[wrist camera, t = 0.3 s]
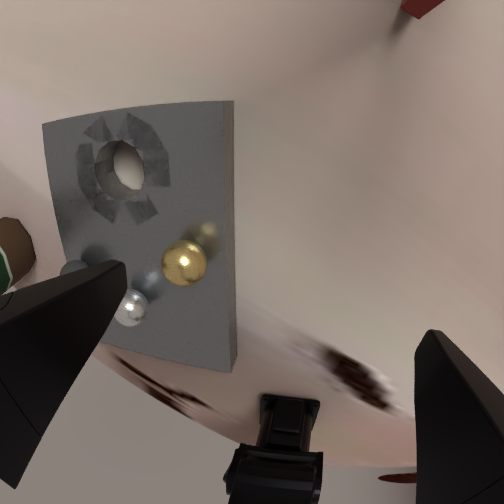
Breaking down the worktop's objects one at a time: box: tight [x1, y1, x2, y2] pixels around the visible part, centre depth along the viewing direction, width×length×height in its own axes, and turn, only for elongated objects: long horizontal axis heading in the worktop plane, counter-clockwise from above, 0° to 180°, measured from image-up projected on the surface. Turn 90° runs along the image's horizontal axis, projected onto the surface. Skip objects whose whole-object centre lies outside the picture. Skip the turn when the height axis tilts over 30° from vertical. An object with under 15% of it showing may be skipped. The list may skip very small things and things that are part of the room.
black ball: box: [60, 260, 89, 276], centre depth 24 cm, size 3×3×3 cm
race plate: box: [42, 101, 237, 373], centre depth 25 cm, size 23×16×2 cm
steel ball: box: [114, 289, 149, 327], centre depth 24 cm, size 3×3×3 cm
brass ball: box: [161, 240, 207, 287], centre depth 21 cm, size 3×3×3 cm
